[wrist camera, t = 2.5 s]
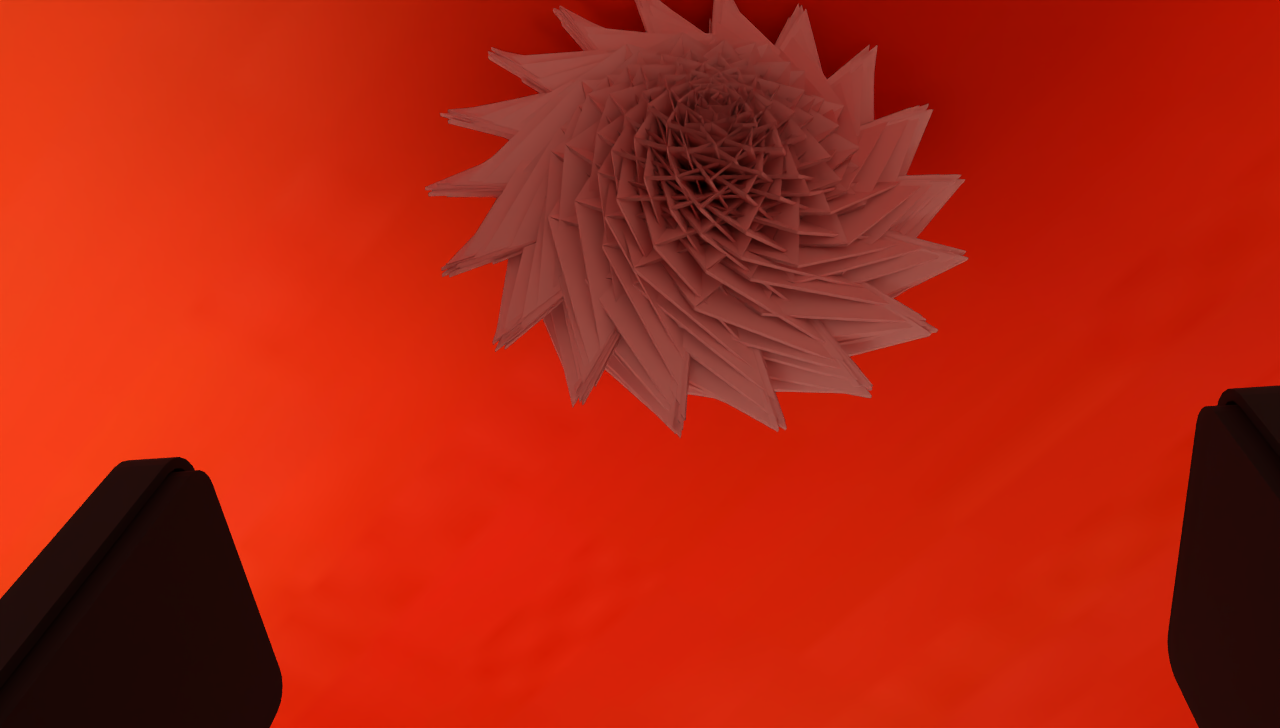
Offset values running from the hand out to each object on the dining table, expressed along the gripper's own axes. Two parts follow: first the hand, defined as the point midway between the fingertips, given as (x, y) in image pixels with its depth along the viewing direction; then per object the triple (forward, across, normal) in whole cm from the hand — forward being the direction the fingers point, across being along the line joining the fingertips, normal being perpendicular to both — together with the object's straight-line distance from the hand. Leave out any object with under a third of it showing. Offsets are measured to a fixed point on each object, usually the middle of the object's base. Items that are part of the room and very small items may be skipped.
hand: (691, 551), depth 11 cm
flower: (+11, 0, -1) cm, 11 cm away
